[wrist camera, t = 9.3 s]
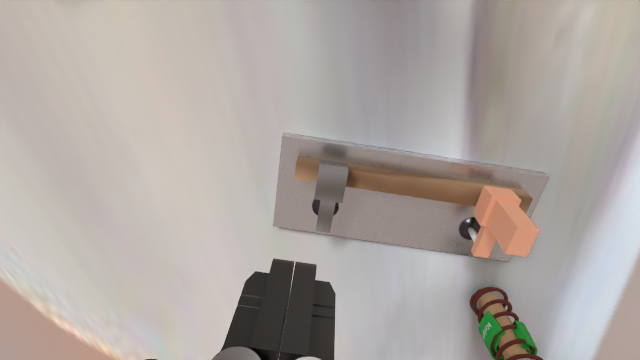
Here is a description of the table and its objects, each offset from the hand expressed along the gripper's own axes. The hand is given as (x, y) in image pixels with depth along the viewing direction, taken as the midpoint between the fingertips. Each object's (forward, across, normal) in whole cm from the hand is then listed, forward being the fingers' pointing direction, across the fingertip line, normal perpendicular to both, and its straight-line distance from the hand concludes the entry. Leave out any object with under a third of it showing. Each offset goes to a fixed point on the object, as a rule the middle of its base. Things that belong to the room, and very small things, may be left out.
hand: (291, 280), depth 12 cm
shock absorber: (+29, -26, +24) cm, 46 cm away
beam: (+28, -11, +10) cm, 32 cm away
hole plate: (+29, -11, +11) cm, 33 cm away
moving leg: (+27, -20, +10) cm, 35 cm away
